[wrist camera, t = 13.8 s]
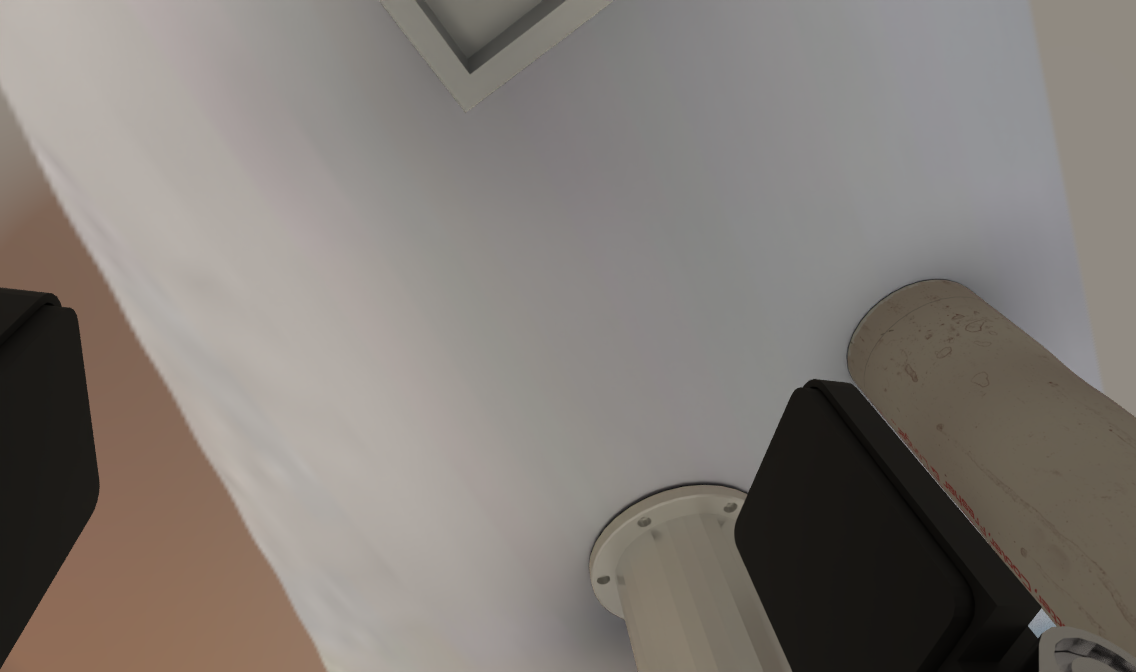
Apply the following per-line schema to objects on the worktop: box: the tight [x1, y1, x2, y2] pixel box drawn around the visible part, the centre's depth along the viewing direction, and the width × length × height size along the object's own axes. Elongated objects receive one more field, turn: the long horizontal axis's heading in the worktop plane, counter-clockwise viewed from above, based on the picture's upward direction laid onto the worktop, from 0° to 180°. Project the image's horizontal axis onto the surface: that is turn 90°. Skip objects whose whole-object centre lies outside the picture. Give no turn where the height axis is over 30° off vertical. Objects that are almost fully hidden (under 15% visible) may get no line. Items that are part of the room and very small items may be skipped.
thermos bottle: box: [847, 280, 1136, 658], centre depth 29 cm, size 8×8×28 cm
